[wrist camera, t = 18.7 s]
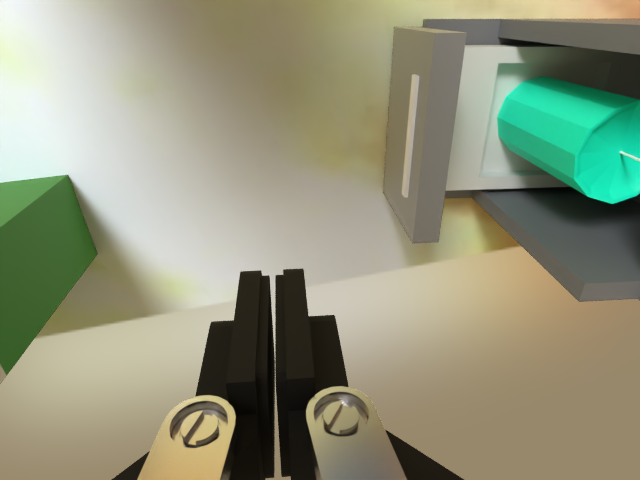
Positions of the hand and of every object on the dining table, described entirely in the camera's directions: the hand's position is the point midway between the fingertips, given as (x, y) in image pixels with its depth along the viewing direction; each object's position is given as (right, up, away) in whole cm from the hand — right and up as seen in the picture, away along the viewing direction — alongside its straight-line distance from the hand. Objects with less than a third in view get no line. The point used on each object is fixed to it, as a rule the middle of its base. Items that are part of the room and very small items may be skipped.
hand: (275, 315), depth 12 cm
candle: (+18, +12, +23) cm, 31 cm away
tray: (+16, +12, +25) cm, 32 cm away
